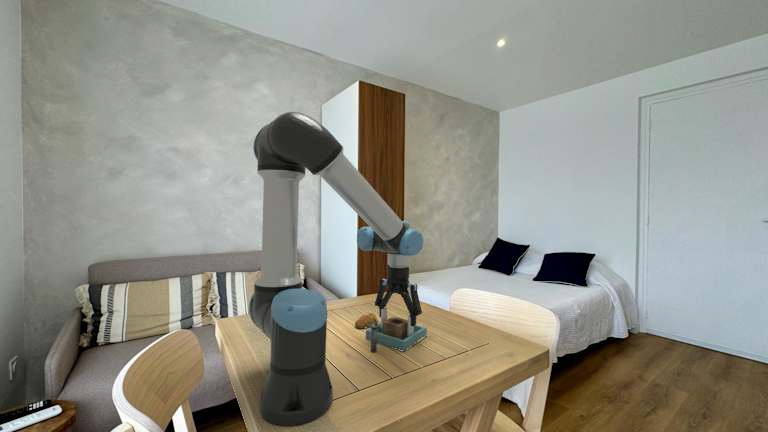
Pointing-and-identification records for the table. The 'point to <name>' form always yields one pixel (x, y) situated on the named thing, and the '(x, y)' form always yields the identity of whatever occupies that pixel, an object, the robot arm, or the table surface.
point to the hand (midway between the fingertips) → (396, 331)
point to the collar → (395, 328)
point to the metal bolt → (374, 336)
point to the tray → (396, 342)
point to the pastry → (366, 320)
